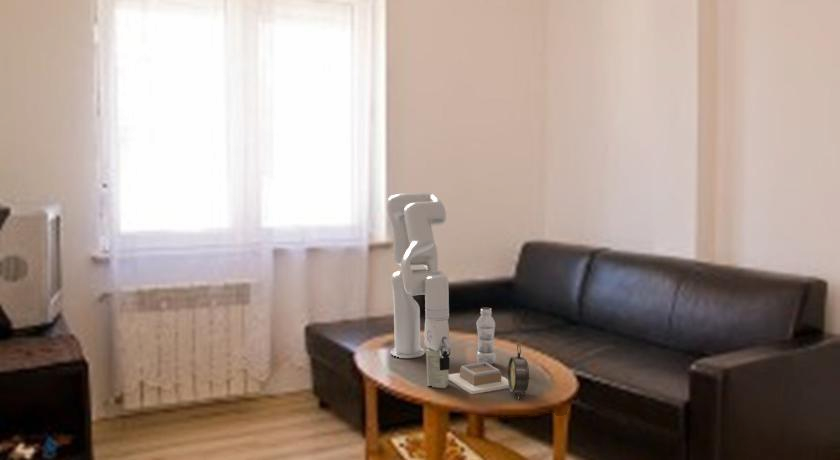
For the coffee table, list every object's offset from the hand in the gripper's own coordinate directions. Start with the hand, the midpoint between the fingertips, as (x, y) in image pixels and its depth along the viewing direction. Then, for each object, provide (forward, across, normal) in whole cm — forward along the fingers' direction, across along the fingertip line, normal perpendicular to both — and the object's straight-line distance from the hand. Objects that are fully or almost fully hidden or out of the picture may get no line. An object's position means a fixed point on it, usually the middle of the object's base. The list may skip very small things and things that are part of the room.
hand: (438, 365), depth 242 cm
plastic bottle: (+7, -14, +25) cm, 29 cm away
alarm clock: (+7, +18, +19) cm, 27 cm away
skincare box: (+7, -1, 0) cm, 7 cm away
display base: (+7, +2, +14) cm, 16 cm away
